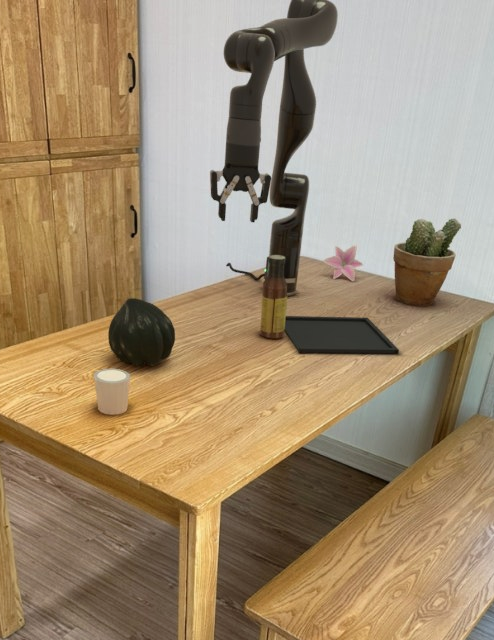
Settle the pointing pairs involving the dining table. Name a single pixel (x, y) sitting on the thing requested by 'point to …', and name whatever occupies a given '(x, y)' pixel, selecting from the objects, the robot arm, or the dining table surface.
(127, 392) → the white cup
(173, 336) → the squash
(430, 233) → the potted plant
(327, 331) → the tray
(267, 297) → the sauce bottle
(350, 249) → the lily
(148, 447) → the dining table surface
